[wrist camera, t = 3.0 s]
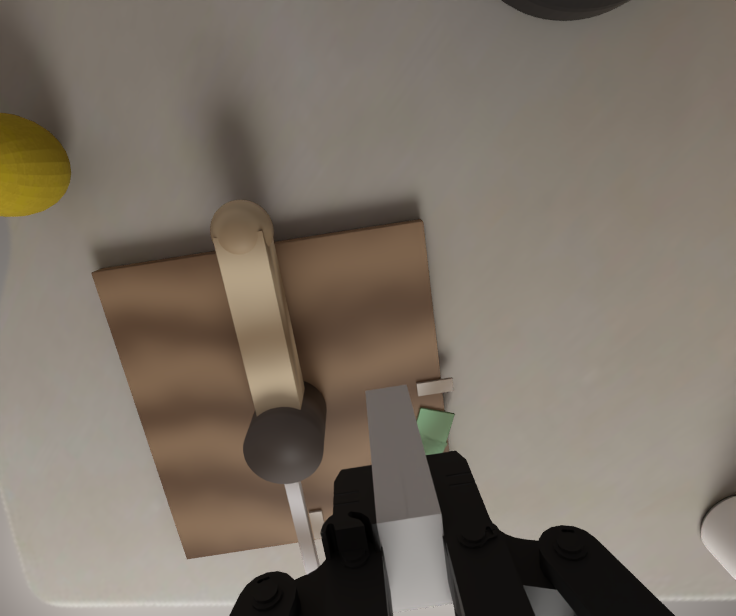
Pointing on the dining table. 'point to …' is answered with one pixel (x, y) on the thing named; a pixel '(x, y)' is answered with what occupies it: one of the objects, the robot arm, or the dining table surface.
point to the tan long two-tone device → (270, 362)
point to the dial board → (230, 384)
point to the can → (721, 533)
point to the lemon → (30, 167)
